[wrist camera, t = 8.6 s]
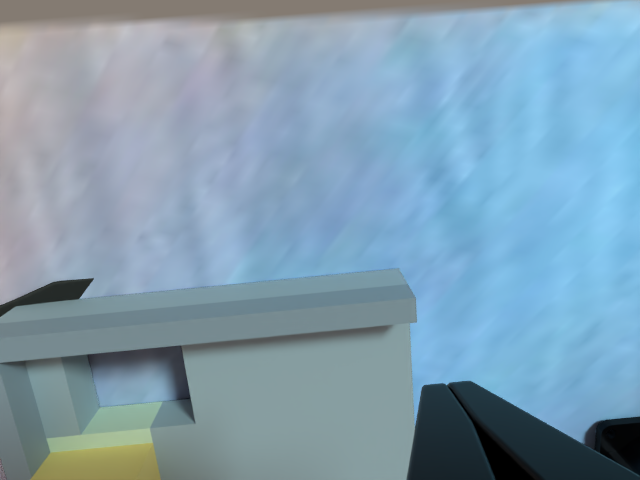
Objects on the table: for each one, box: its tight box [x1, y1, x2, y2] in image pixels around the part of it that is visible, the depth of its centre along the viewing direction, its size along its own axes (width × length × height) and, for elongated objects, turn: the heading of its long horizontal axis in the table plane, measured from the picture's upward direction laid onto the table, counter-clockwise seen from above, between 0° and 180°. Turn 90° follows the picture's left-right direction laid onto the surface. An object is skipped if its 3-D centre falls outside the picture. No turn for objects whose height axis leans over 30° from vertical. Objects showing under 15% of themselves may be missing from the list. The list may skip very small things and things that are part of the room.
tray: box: [0, 268, 417, 480], centre depth 22 cm, size 17×17×4 cm
